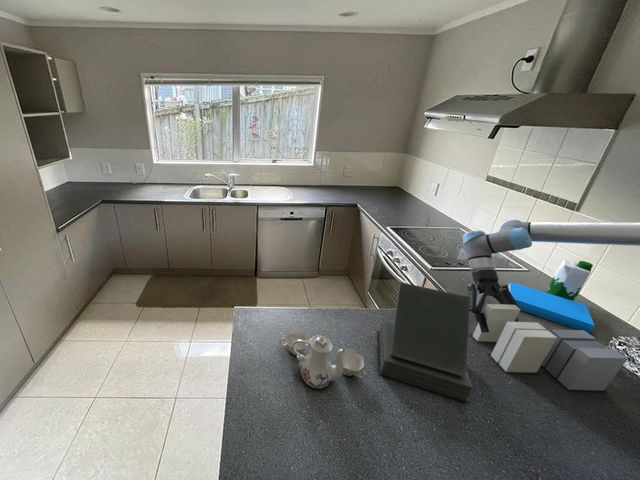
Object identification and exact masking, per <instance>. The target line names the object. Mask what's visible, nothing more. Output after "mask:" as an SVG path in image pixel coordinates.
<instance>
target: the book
mask: <svg viewBox="0 0 640 480" xmlns="http://www.w3.org/2000/svg"><path fill="white" fill-rule="evenodd" d="M508 287H509V291H510V293H511V294H512V296H513V298H514V299H515V301H516V303H517V304H518V306H519V307H520V309H521V312H525V313H529V314H530V315H531V314H532V315H535V316H537V317H539V318H544V319H546V320H549V321H552V322H554V323H557V324H560V325H564V326H566V327H569V328H572V329H574V330H584V331H586V332H587V333H589V334H590V335H591V333H592V332H593V331H594V328H595V323H594V321H593V318H592V315H591V313H590V311H589V309H588V306H587V305H586V304H584V303H581V302H578V301H575V300H574V301H571V300H568V299H565V298H562V297H558V296H555V295H552V294H548V292H544V291H541V290H538V289H535V288H532V287H530V286H529V287H528V286H525V285H521V284H518V283H515V282H512V281H509V284H508Z"/></svg>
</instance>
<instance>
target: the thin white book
mask: <svg viewBox="0 0 640 480" xmlns="http://www.w3.org/2000/svg"><path fill="white" fill-rule="evenodd" d="M483 309H484V310H482V311H483V312H482V313H484V314H485V318H486V322H487V325H488V329H489V332H481V329H480V325H479V322H477V325H476V327H475V330H474V332H473V334H472V338H473V339H475V341H476V342H485V343H486V342H488V343H489V342H491V343H497V342H498V340H499V338H500V336H501V334H502V332H503V329H504V327H505V325H506V323H507V322H515V320H516V318H518V317H519V313H521V312H520V310H521V309H519V308H518V307H517V306H515V305H504V304H500V303H486V305H485V307H484V308H483ZM521 311H522V310H521Z"/></svg>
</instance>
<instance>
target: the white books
mask: <svg viewBox="0 0 640 480" xmlns="http://www.w3.org/2000/svg"><path fill="white" fill-rule="evenodd" d="M556 339H557V337H556V336H554V335H553V334H552V333H551V332H550V330H547V328H545V327H544V326H543V325H541V324H540V323H539V322H531V321H518V322H507V323H506V325H505V327H504V329H503V332H502V334H501V336H500V338H499V340H498V342H496V344H495V346H494V348H493V350H492V352H491V354H490V357H491V358H492V359H493V360H494V361H495V362H496V363H498V365H499V367H501V368H502V370H504V372H506V373H527V374H528V373H530V374H531V373H533V374H537V372H538V371H539V370H540V368H541V366H542V365H541V364H542V363H543V361H544V359H545V357H546V356H547V354H548V352H549V351H550V349H551V347H552V346H553V344H554V342H555V341H556Z"/></svg>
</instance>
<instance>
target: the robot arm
mask: <svg viewBox="0 0 640 480" xmlns="http://www.w3.org/2000/svg"><path fill="white" fill-rule="evenodd" d="M462 241H463V242H462V243H463V247H464V250H465V254H466V257H467V262H468V265H469V269H470V271H471V277H472V280H473V282H474V283H471V284H467V286H466V287H467V291H468V293H467V294H468V296H467V297H470V310H469V312H471V313H472V314H474V316H475V320H476V322H477V323H479V325H480V329H481V332H489V329H488V325H487V322H486V318H485V314H484V313H483V312H482V311H483V309H484V305H485V301H486V299H487V297H488V296H489V297H492V298H494V299H495V300H496V301H497V302H498V304H504V305H515V306H517V307H518V308H519V309H520V307H519V306H518V304H517V303H516V301H515V299H514V298H513V296H512V294H511V293H510V291H509V287H508V286H509V284H504V285H502V284H500V283H499V275H498V272H497V270H495V269H496V265H495V262H494V259H493V256H492V255H493V254H500V253H506V252H512V251H520V250H524V249H528V248H531V247H532V245H533V242H534V243H535V242H536V243H560V244H587V245H611V246H636V247H637V246H638V247H640V221H521V220H518V219H510V220H507V221H506V222H504V223H503V224H502V225H501V226H500V229H499V231H497V232H493V233H487V234H486V233H485V231H483V230H474V231H473V230H472V231H468V232H466V233H464V234H463V235H462ZM521 312H522V310H520V312H519V313H521ZM515 322H519V318H518V317H517V318H516V320H515Z"/></svg>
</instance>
